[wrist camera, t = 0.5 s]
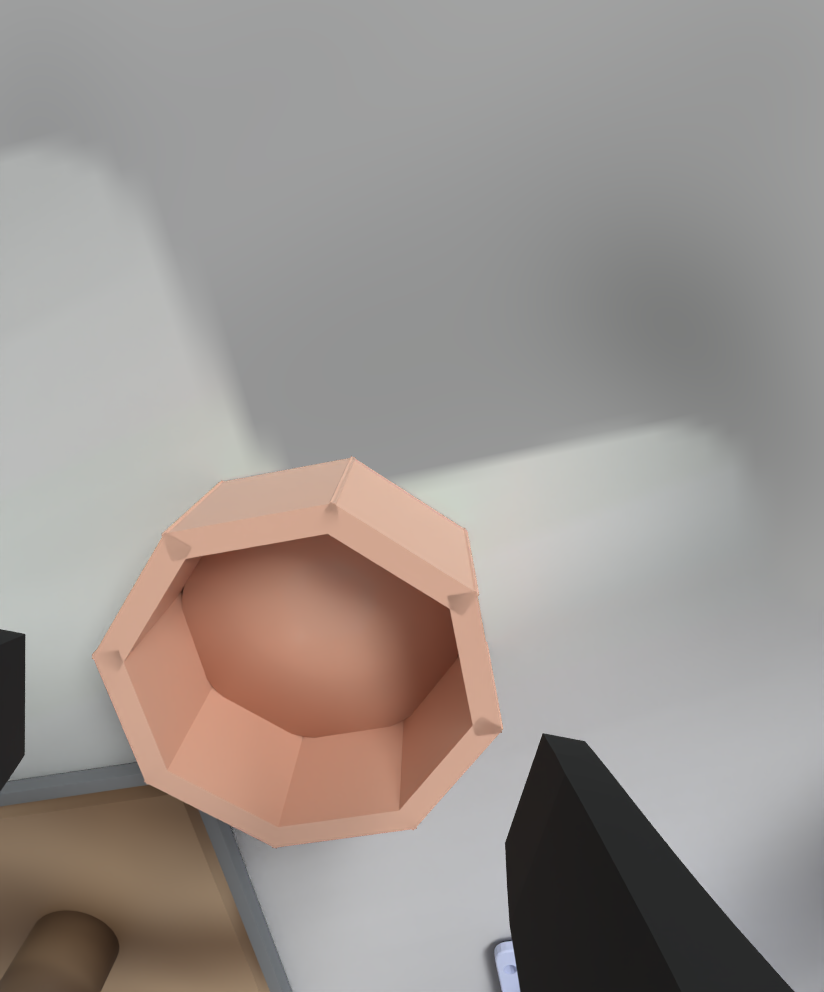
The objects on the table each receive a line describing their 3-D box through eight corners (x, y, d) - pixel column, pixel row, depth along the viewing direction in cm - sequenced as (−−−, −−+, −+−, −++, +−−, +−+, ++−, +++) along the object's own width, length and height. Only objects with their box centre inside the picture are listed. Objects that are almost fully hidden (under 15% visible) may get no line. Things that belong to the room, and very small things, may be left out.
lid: (278, 1013, 24) (249, 1157, 20) (1, 1044, 25) (-79, 1187, 21) (186, 779, 20) (127, 898, 16) (-135, 826, 21) (-265, 949, 17)
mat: (297, 1003, 24) (293, 1020, 24) (5, 1036, 26) (-5, 1053, 25) (202, 752, 20) (196, 765, 20) (-139, 803, 22) (-155, 817, 21)
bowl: (500, 716, 20) (518, 816, 16) (223, 757, 21) (177, 862, 17) (450, 437, 17) (458, 478, 13) (128, 498, 18) (46, 552, 14)
